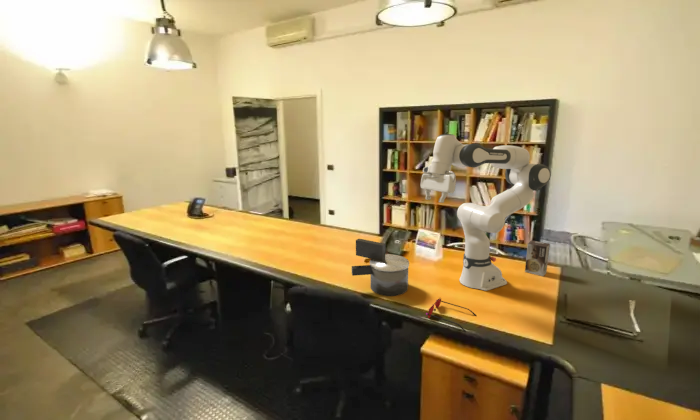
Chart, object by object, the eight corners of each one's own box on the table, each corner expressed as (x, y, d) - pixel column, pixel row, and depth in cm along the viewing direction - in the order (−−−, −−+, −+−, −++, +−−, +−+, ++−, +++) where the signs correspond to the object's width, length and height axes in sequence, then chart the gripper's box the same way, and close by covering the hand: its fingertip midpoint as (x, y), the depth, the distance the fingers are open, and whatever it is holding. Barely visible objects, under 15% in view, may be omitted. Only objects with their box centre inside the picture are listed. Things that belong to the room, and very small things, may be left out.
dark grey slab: (415, 261, 167) (415, 243, 165) (398, 275, 152) (398, 256, 150) (367, 250, 182) (366, 234, 179) (347, 262, 167) (346, 244, 164)
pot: (402, 277, 177) (402, 256, 174) (412, 294, 160) (413, 270, 157) (350, 281, 174) (349, 259, 171) (354, 298, 157) (354, 274, 154)
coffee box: (546, 272, 180) (550, 243, 176) (543, 276, 175) (547, 246, 171) (528, 268, 186) (531, 239, 182) (524, 271, 181) (527, 242, 177)
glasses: (438, 305, 151) (439, 294, 150) (476, 316, 142) (477, 305, 141) (425, 319, 140) (425, 308, 139) (466, 333, 131) (467, 321, 130)
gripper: (461, 172, 145) (455, 205, 146) (431, 170, 163) (426, 199, 165) (450, 170, 142) (443, 203, 144) (420, 168, 161) (415, 197, 162)
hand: (434, 201), depth 154 cm, fingers open, 8 cm apart
